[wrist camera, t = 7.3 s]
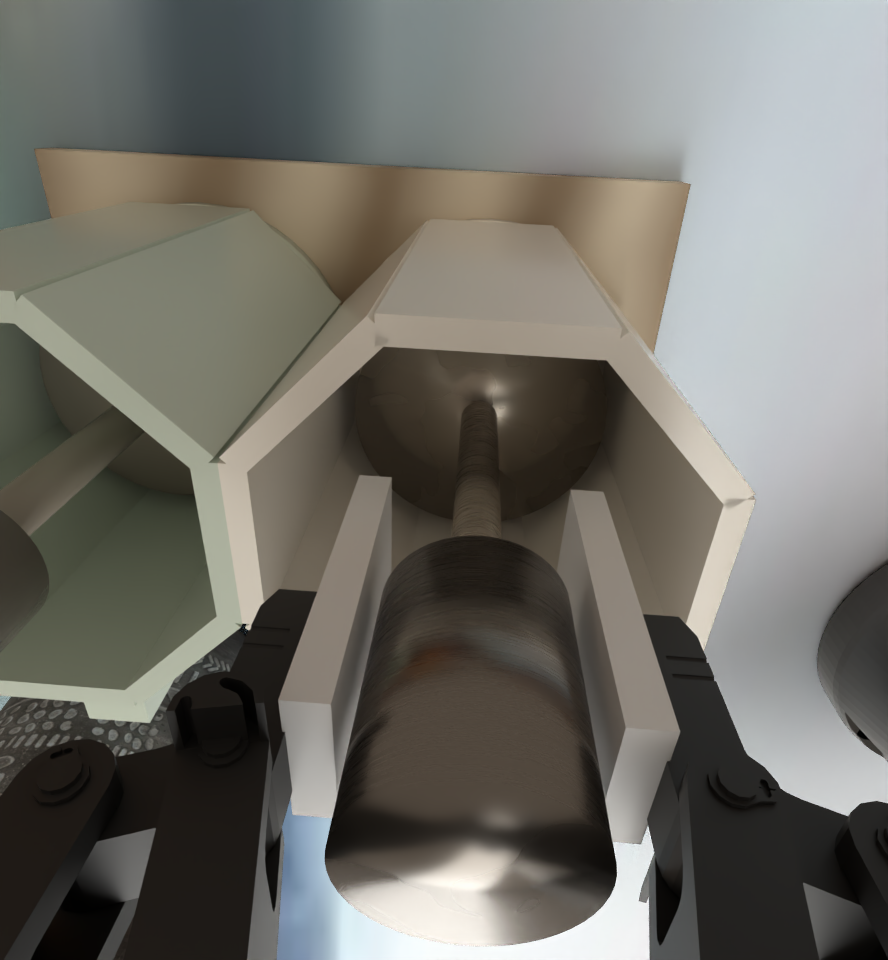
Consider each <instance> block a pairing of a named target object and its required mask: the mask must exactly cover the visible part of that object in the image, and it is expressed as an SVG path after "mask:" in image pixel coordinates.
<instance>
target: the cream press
mask: <svg viewBox="0 0 888 960" xmlns="http://www.w3.org/2000/svg"><path fill="white" fill-rule="evenodd" d="M383 347H399V348H415V349H432V350H448V351H464V352H480V353H496V354H512V355H528V356H544V357H560V358H576V359H592V360H597V362H598V364H599V366H600V369H601V372H602V375H603V378H604V383H605V388H606V394H607V417H606V425H605V430H604V433H603V437H602V441H601V443H600V446H599V448H598V451H597V453H596V455H595V457H594V459H593V460H592V462H591V464H590V465H589V467H588V469H587V470H586V471H585V473H584V474H583V475H582V476H581V478H580V479H579V480H578V481H577V482H576V483H575V484H574V485H573V486H572V487H571V488H570V489H569V490H568V491H567V492H566V493H564V494H563V495H562V496H560V497H559V498H558V499H557V500H555V501H553V502H552V503H550V504H548V505H547V506H545V507H543V508H541V509H539V510H537V511H535V512H533V513H530V514H527V515H524V516H521V517H518V518H515V519H510V520H505V521H501V528H502V539H504V540H508V541H511V542H514V543H517V544H519V545H522V546H524V547H526V548H528V549H530V550H532V551H533V552H535V553H536V554H538V555H539V556H541V557H542V558H543V559H544V560H545V561H547V562H548V563H549V564H550V565H551V566H552V567H553V568H554V569H555V571H556V572H557V567H558V561H559V555H560V549H561V543H562V537H563V531H564V525H565V520H566V514H567V508H568V502H569V496H570V490H584V491H599V492H604V495H605V498H606V501H607V504H608V508H609V511H610V514H611V517H612V520H613V523H614V526H615V529H616V533H617V536H618V539H619V542H620V545H621V548H622V551H623V554H624V558H625V561H626V564H627V567H628V570H629V573H630V576H631V579H632V582H633V586H634V589H635V592H636V595H637V598H638V601H639V604H640V607H641V611H642V614H649V615H662V616H676V617H680V619H681V620H682V621H683V622H684V623H685V624H686V625H687V626H688V627H689V628H690V629H691V630H692V631H693V632H694V633H695V635H696V636H697V637H698V639H699V641H700V644H701V646H702V649H703V651H704V649H705V646H706V643H707V640H708V637H709V635H710V632H711V629H712V626H713V623H714V620H715V617H716V614H717V611H718V609H719V606H720V603H721V600H722V597H723V594H724V591H725V588H726V585H727V583H728V580H729V577H730V574H731V571H732V568H733V565H734V562H735V559H736V557H737V554H738V551H739V548H740V545H741V542H742V539H743V536H744V533H745V531H746V528H747V525H748V522H749V519H750V516H751V513H752V510H753V508H754V505H755V502H756V499H755V498H754V497H753V495H755V493H754V491H753V490H752V489H751V487H750V486H749V485H748V483H747V482H746V480H745V479H744V478H743V476H742V475H741V474H740V472H739V471H738V470H737V468H736V467H735V465H734V464H733V463H732V461H731V460H730V459H729V457H728V456H727V454H726V453H725V452H724V450H723V449H722V448H721V446H720V445H719V444H718V442H717V441H716V439H715V438H714V437H713V435H712V434H711V433H710V431H709V430H708V428H707V427H706V426H705V424H704V423H703V422H702V420H701V419H700V418H699V416H698V415H697V413H696V412H695V411H694V409H693V408H692V407H691V405H690V404H689V402H688V401H687V400H686V398H685V397H684V396H683V394H682V393H681V392H680V390H679V389H678V387H677V386H676V385H675V383H674V382H673V381H672V379H671V378H670V376H669V375H668V374H667V372H666V371H665V370H664V368H663V367H662V366H661V364H660V363H659V361H658V360H657V359H656V357H655V356H654V355H653V353H652V352H651V350H650V349H649V348H648V346H647V345H646V344H645V342H644V341H643V340H642V338H641V337H640V335H639V334H638V333H637V331H636V330H635V329H634V327H633V326H632V324H631V323H630V322H629V320H628V319H627V318H626V316H625V315H624V314H623V313H622V311H621V310H620V309H619V307H618V306H617V305H616V303H615V302H614V301H613V300H612V298H611V297H610V296H609V294H608V293H607V292H606V290H605V289H604V288H603V287H602V285H601V284H600V283H599V281H598V280H597V279H596V277H595V276H594V275H593V274H592V272H591V271H590V270H589V268H588V267H587V266H586V265H585V263H584V262H583V261H582V259H581V258H580V257H579V255H578V254H577V253H576V252H575V250H574V249H573V248H572V246H571V245H570V244H569V242H568V241H567V240H566V239H565V237H564V236H563V235H562V233H561V232H560V231H559V229H558V228H555V227H554V226H553V225H535V224H520V223H517V222H513V221H508V220H500V219H492V218H487V219H467V220H446V219H430V221H429V222H428V221H427V220H426V221H425V222H424V223H423V224H422V225H421V226H420V227H419V228H418V229H417V230H416V231H415V232H414V233H413V234H412V235H411V236H410V237H409V238H408V239H407V240H406V241H405V242H404V243H403V244H402V245H401V246H400V247H399V248H398V249H397V250H396V251H395V252H394V253H392V254H391V255H390V256H389V257H388V258H387V259H386V260H385V261H384V262H383V264H382V265H381V266H380V267H379V268H378V269H377V270H376V271H375V272H374V273H373V274H372V275H371V276H370V277H369V278H368V279H367V280H366V281H365V282H364V283H363V284H362V285H361V286H360V287H359V288H358V289H357V290H356V291H355V292H354V293H353V294H352V295H351V296H350V297H349V298H348V299H347V300H346V301H345V302H344V303H343V304H342V305H341V306H340V308H339V309H338V310H337V311H336V313H335V314H334V315H333V316H332V318H331V319H330V320H329V321H328V323H327V324H326V325H325V326H324V328H323V329H322V330H321V331H320V333H319V334H318V335H317V336H316V338H315V339H314V340H313V341H312V343H311V344H310V345H309V346H308V348H307V349H306V350H305V351H304V352H303V354H302V355H301V356H300V357H299V359H298V360H297V361H296V362H295V364H294V365H293V366H292V367H291V369H290V370H289V371H288V372H287V374H286V375H285V376H284V377H283V379H282V380H281V381H280V382H279V384H278V385H277V386H276V387H275V389H274V390H273V391H272V392H271V394H270V395H269V396H268V397H267V399H266V400H265V401H264V402H263V404H262V405H261V406H260V407H259V408H258V410H257V411H256V412H255V413H254V415H253V416H252V417H251V418H250V420H249V421H248V422H247V423H246V425H245V426H244V427H243V428H242V430H241V431H240V432H239V433H238V435H237V436H236V437H235V438H234V440H233V441H232V442H231V443H230V445H229V446H228V447H227V448H226V450H225V451H224V452H223V453H222V455H221V456H220V457H219V458H220V461H219V462H218V463H217V464H218V471H219V477H220V484H221V490H222V496H223V503H224V509H225V516H226V522H227V529H228V535H229V542H230V548H231V554H232V561H233V567H234V574H235V580H236V587H237V593H238V600H239V606H240V613H241V619H242V623H243V624H247V625H246V627H245V628H246V629H247V630H250V629H251V625H252V623H253V620H254V618H255V616H256V614H257V612H258V610H259V608H260V606H261V605H262V604H263V603H264V602H265V601H266V600H267V599H268V598H270V597H271V596H272V595H273V594H274V593H275V592H276V591H277V590H278V589H288V590H301V591H315V592H317V591H318V589H319V586H320V583H321V580H322V578H323V575H324V572H325V569H326V566H327V564H328V561H329V558H330V555H331V553H332V550H333V547H334V544H335V542H336V539H337V536H338V533H339V531H340V528H341V525H342V522H343V519H344V517H345V514H346V511H347V508H348V506H349V503H350V500H351V497H352V495H353V492H354V489H355V486H356V484H357V481H358V478H359V475H364V476H379V475H378V473H377V472H376V471H375V469H374V468H373V467H372V465H371V463H370V461H369V460H368V458H367V456H366V454H365V452H364V449H363V447H362V444H361V442H360V439H359V435H358V431H357V427H356V419H355V393H356V388H357V383H358V378H359V375H360V372H361V369H362V367H363V365H364V364H365V363H366V362H367V361H368V360H370V359H371V358H372V357H373V356H374V355H375V354H376V353H377V352H378V351H379V350H380V349H382V348H383ZM379 477H380V476H379ZM452 522H453V520H451V519H447V518H442V517H439V516H437V515H434V514H431V513H428V512H426V511H424V510H422V509H420V508H418V507H416V506H414V505H413V504H411V503H409V502H408V501H406V500H405V499H403V498H402V497H401V496H399V495H398V494H397V493H396V492H395V491H393V490H392V547H391V573H392V571H393V570H394V569H395V568H396V566H397V565H398V564H399V563H400V562H401V561H402V560H403V559H405V558H406V557H407V556H408V555H410V554H411V553H413V552H414V551H416V550H418V549H419V548H421V547H423V546H426V545H428V544H430V543H433V542H436V541H439V540H442V539H446V538H451V533H452Z"/></svg>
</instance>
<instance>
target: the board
mask: <svg viewBox="0 0 888 960" xmlns="http://www.w3.org/2000/svg"><path fill="white" fill-rule="evenodd" d="M34 150H35V154H36V158H37V162H38V166H39V170H40V174H41V178H42V182H43V186H44V190H45V194H46V198H47V202H48V206H49V210H50V214H51V218H57V217H62V216H66V215H71V214H76V213H80V212H85V211H90V210H94V209H99V208H104V207H108V206H113V205H117V204H122V203H127V202H144V203H162V204H176V203H182V202H204V203H211V204H219V205H223V206H227V207H233V208H249V209H250V211H253V210H254V211H255V212H256V213H257V215H258V216H259V217H260V218H261V219H262V220H263V221H265V222H266V223H268V224H270V225H272V226H273V227H275V228H276V229H278V230H279V231H280V232H282V233H283V234H285V235H286V236H287V237H289V238H290V239H291V240H292V241H293V242H294V243H296V244H297V245H298V246H299V247H300V248H301V249H302V250H303V251H304V252H305V253H306V254H307V255H308V256H309V258H310V259H311V260H312V261H313V262H314V263H315V265H316V266H317V267H318V268H319V270H320V271H321V273H322V274H323V276H324V277H325V279H326V280H327V282H328V283H329V285H330V287H331V289H332V291H333V293H334V294H335V295H336V297H337V298H338V299H339V300H340V301H341V303H340V304H339V305H342V304H343V303H344V302H345V301H346V300H347V299H348V298H349V297H350V296H351V295H352V294H353V293H354V292H355V291H356V290H357V289H358V288H359V287H360V286H361V285H362V284H363V283H364V282H365V281H366V280H367V279H368V278H369V277H370V276H371V275H372V274H373V273H374V272H375V271H376V270H377V269H378V268H379V267H380V266H381V265H382V264H383V262H384V261H385V260H386V259H387V258H388V257H389V256H390V255H391V254H392V253H394V252H395V251H396V250H397V249H398V248H399V247H400V246H401V245H402V244H403V243H404V242H405V241H406V240H407V239H408V238H409V237H410V236H411V235H412V234H413V233H414V232H415V231H416V230H417V229H418V228H419V227H420V226H421V225H422V224H423V223H424V222H425V221H426V220H427V221H428V222H429V221H430V219H446V220H467V219H487V218H492V219H500V220H508V221H513V222H517V223H520V224H535V225H553V226H554V227H555V228H558V229H559V231H560V232H561V233H562V235H563V236H564V237H565V239H566V240H567V241H568V242H569V244H570V245H571V246H572V248H573V249H574V250H575V252H576V253H577V254H578V255H579V257H580V258H581V259H582V261H583V262H584V263H585V265H586V266H587V267H588V268H589V270H590V271H591V272H592V274H593V275H594V276H595V277H596V279H597V280H598V281H599V283H600V284H601V285H602V287H603V288H604V289H605V290H606V292H607V293H608V294H609V296H610V297H611V298H612V300H613V301H614V302H615V303H616V305H617V306H618V307H619V309H620V310H621V311H622V313H623V314H624V315H625V316H626V318H627V319H628V320H629V322H630V323H631V324H632V326H633V327H634V329H635V330H636V331H637V333H638V334H639V335H640V337H641V338H642V340H643V341H644V342H645V344H646V345H647V346H648V348H649V349H650V350H651V352H652V353H654V349H655V344H656V340H657V335H658V330H659V326H660V321H661V317H662V312H663V308H664V303H665V299H666V294H667V289H668V285H669V280H670V276H671V271H672V267H673V262H674V258H675V253H676V248H677V244H678V239H679V235H680V230H681V226H682V221H683V217H684V212H685V207H686V203H687V198H688V194H689V189H690V185H691V184H688V183H684V182H678V181H660V180H641V179H623V178H604V177H586V176H567V175H549V174H530V173H511V172H493V171H474V170H456V169H437V168H419V167H400V166H382V165H363V164H344V163H326V162H307V161H289V160H270V159H252V158H233V157H215V156H196V155H177V154H159V153H140V152H122V151H103V150H85V149H66V148H41V149H34Z"/></svg>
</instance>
